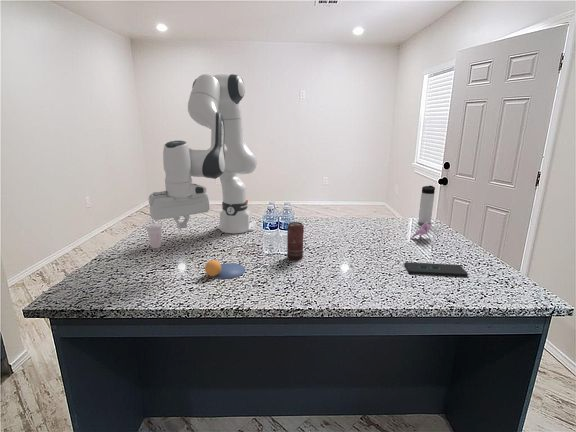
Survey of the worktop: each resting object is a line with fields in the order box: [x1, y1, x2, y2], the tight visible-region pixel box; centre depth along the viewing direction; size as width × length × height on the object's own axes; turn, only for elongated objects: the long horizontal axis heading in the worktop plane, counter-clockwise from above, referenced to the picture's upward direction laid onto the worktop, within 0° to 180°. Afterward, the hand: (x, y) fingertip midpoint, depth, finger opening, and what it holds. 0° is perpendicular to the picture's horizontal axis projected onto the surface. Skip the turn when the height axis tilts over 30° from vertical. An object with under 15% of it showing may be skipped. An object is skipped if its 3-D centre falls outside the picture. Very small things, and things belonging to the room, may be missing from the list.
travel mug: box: [417, 185, 436, 226], centre depth 178 cm, size 6×7×20 cm
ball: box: [204, 259, 221, 277], centre depth 117 cm, size 6×6×6 cm
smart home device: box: [404, 261, 469, 278], centre depth 123 cm, size 8×2×20 cm
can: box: [286, 221, 305, 261], centre depth 131 cm, size 6×6×14 cm
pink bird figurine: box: [410, 221, 435, 243], centre depth 154 cm, size 12×12×10 cm
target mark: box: [210, 262, 246, 280], centre depth 121 cm, size 13×13×1 cm
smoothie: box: [145, 218, 163, 249], centre depth 142 cm, size 6×6×14 cm
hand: (182, 227), depth 120 cm, fingers closed
